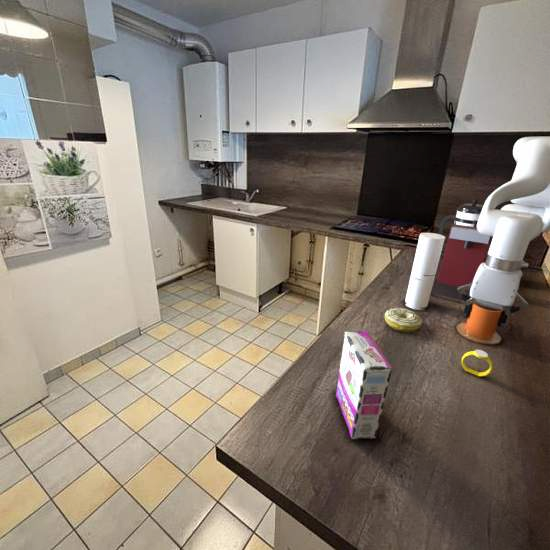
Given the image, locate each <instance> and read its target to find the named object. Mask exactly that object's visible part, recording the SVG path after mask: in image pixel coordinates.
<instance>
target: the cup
mask: <svg viewBox="0 0 550 550" xmlns="http://www.w3.org/2000/svg"><path fill="white" fill-rule="evenodd" d="M503 310H504V309H503V306H502V305H498V304H494V303H489V302H485V301H481V300H475V301H474V302H473V303H472V307H471V310H470V313H469V316H468V318H466V321H465V322H466V325H465V328H464V329H465V331H466V332H467V333H469V334H470V335H472V336H474V337H477V338H481V339H491V338H493V336H494V333H495V332H497V331H496V330H497V328H498V323H499V320H500V317H501V314H502V312H503Z"/></svg>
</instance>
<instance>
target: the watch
mask: <svg viewBox="0 0 550 550" xmlns="http://www.w3.org/2000/svg"><path fill="white" fill-rule="evenodd" d="M470 356H475V357H476V358H477V359H480V360H485V361H486V362H487V363H488V364H489V368H488V369H487V370H485V371H481V372H479V371H477V370H475V369H472V368H470V367H468V366H467V365H466V363H465V359H466V358H467V357H470ZM461 366H462V369H464V371H465V372H468V373H470V374H473V375H475V376H477V377H486V376H488V375H490V374H491V373H492V370H493V361H492V359H491V358H490V357H489V354H488V353H487V351H484V350H482V349H474V351H473V350H472V351H471V350H470V351H468V352H466V353H464V354H463V356H462V357H461Z"/></svg>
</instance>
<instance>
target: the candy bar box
mask: <svg viewBox="0 0 550 550" xmlns="http://www.w3.org/2000/svg"><path fill="white" fill-rule="evenodd" d="M343 336H344V337H343V344H342V349H341V350H342V351H341V358H340V363H339V364H340V365H339V372H338V378H337V383H336V390H335V391H336V392H335V396H336V399H337V401H338V404H339V407H340V410H341V412H342V415H343V418H344V421H345V424H346V426H347V430H348V432H349V435H350V438H351V440H372V439H376V438H377V435H378V430H379V426H380V422H381V418H382V413H383V410H384V405H385V401H386V396H387V393H388V388H389V384H390V379H391V375H392V371H393V367H392V365H391V364H390V363H389V361H388V360H387V358H386V357H385V356H384V354H383V352H382V351H381V349H380V348H379V346H378V345H377V343H376V342H375V341H374V339H373V338H372V336H371V334H370V333H369V331H366V330H365V331H362V330H361V331H344V335H343Z"/></svg>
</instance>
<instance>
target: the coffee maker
mask: <svg viewBox="0 0 550 550" xmlns="http://www.w3.org/2000/svg"><path fill="white" fill-rule="evenodd" d="M492 238H493V236H486V235H482V234H480V233H479V232H478V230H477V227H471V226H464V225H456V224H454V223H452V224H451V226H450V231H449V234H448V238H447V241H446V243H447V245H446V246H445V249H444V253H443V256H444V257H443V256H442V261H441V265H440V269H439V271H438V275H437V279H436V280H437V281H436V283H435V285H434V287H433V288H432V290H431V294H434V295H438V296H443V297H446V298H450V299H454V300H458V301H462V302H464V300H463V299H462V298H461V295H460V294H459V292H458V290H457V289H458V287H460V286H463V285H466V284H469V283H472V282H473V280H474V277H475V274H476V272H477V270H478V268H479V266H480V265H481V263H485V260H486V257H487V254H488V251H489V248H490V245H491V241H492ZM465 293H466V294H467V296H468V297H469V296H470V289H468V290H465Z"/></svg>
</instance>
